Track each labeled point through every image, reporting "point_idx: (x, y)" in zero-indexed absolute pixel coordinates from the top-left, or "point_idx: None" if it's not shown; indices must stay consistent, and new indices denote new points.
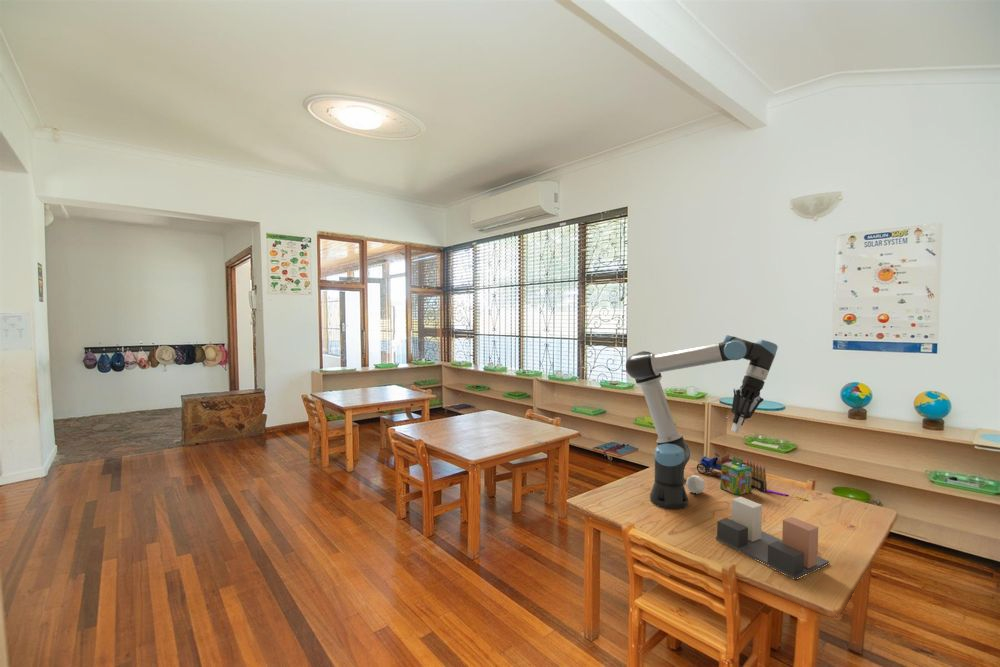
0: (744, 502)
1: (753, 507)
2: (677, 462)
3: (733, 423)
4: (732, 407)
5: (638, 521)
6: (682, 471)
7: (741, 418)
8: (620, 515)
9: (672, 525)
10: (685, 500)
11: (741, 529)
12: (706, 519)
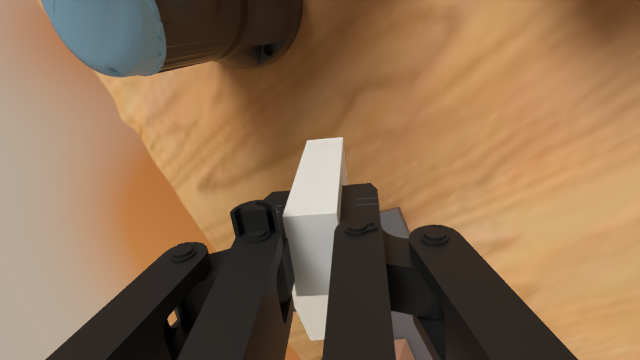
0: (307, 308)
1: (313, 338)
2: (142, 74)
3: (299, 171)
4: (128, 296)
5: (151, 121)
6: (197, 54)
7: (315, 287)
8: (118, 84)
9: (216, 154)
10: (273, 49)
11: (295, 310)
12: (309, 139)
